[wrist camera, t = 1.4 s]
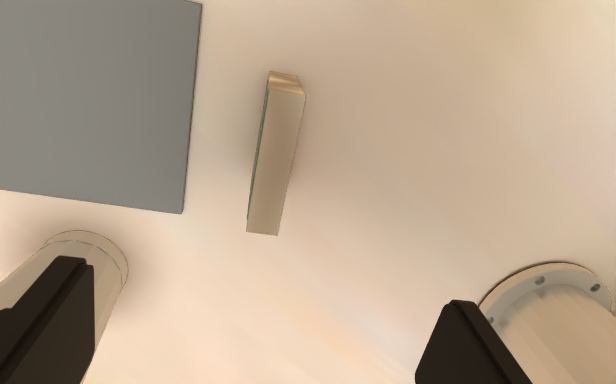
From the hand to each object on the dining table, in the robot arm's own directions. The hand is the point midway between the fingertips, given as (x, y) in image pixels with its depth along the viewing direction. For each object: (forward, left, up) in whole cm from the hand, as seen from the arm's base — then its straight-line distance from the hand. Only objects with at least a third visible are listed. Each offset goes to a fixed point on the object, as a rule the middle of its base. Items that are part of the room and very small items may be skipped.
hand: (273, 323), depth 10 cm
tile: (0, 0, -18) cm, 18 cm away
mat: (+13, 0, -18) cm, 22 cm away
